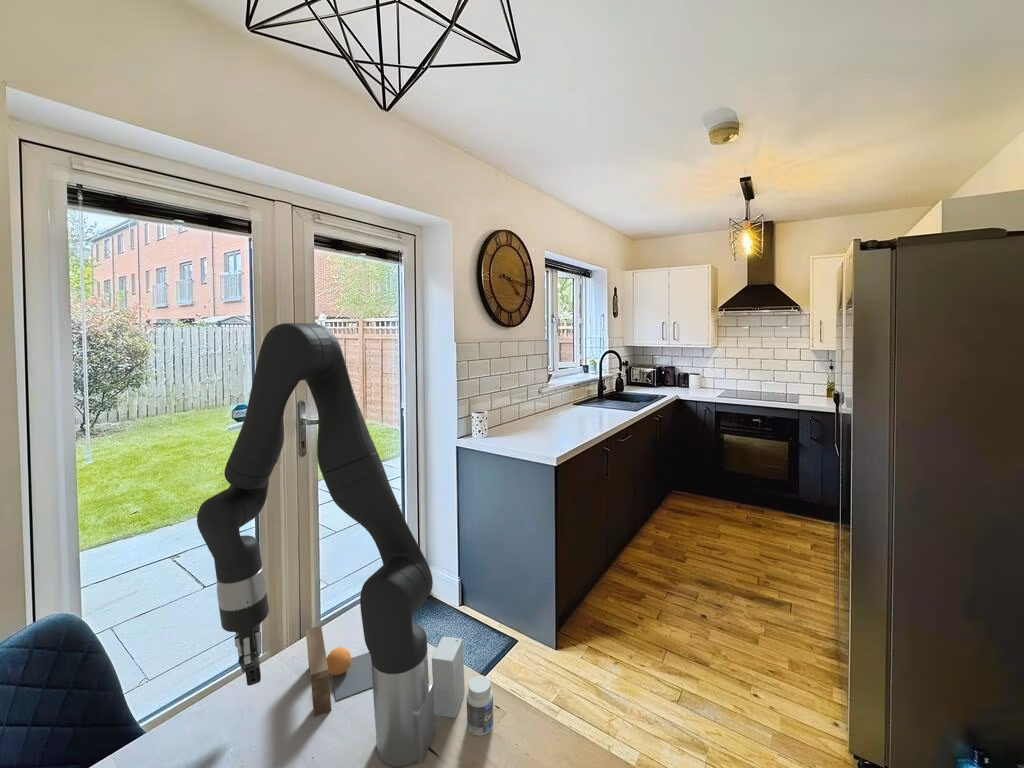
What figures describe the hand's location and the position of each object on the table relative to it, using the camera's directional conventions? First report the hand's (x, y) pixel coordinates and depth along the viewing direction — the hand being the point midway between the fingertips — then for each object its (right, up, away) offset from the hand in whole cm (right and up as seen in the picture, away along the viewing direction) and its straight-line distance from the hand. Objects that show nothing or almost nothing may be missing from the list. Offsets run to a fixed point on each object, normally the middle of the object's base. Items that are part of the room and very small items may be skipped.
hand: (254, 681), depth 85 cm
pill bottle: (+42, -7, -2) cm, 43 cm away
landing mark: (+16, -5, +10) cm, 19 cm away
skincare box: (+36, -6, +2) cm, 36 cm away
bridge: (+9, -5, +6) cm, 13 cm away
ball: (+12, -2, +10) cm, 16 cm away
